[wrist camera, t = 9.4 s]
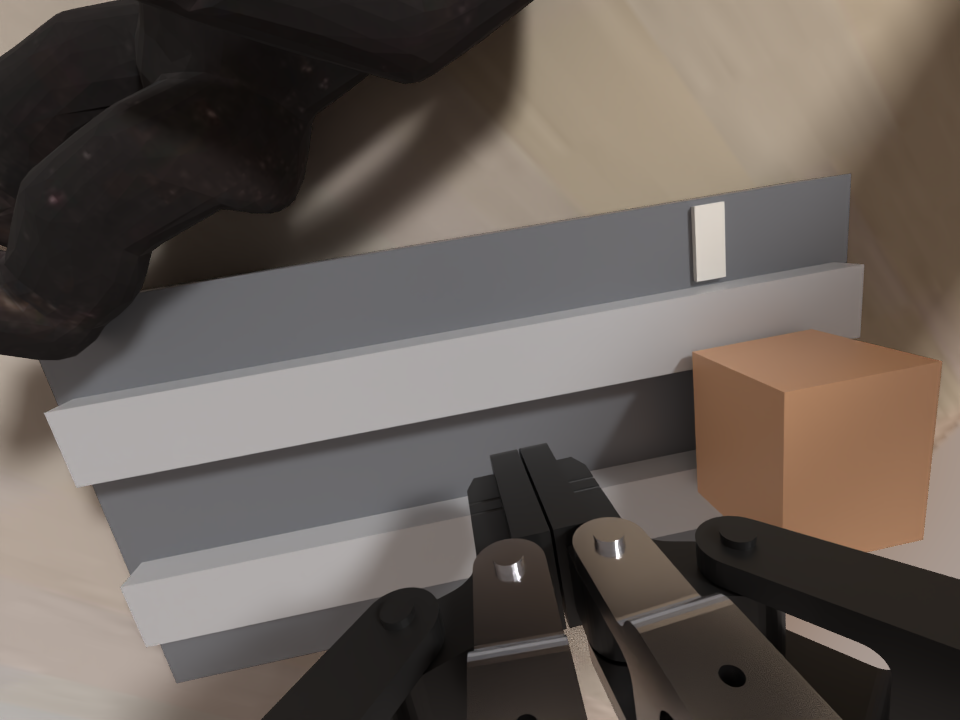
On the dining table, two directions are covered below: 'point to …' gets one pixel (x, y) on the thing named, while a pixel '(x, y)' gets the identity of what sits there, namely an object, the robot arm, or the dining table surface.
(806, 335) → the block
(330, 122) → the dining table surface
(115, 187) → the figurine
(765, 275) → the twin slider track
